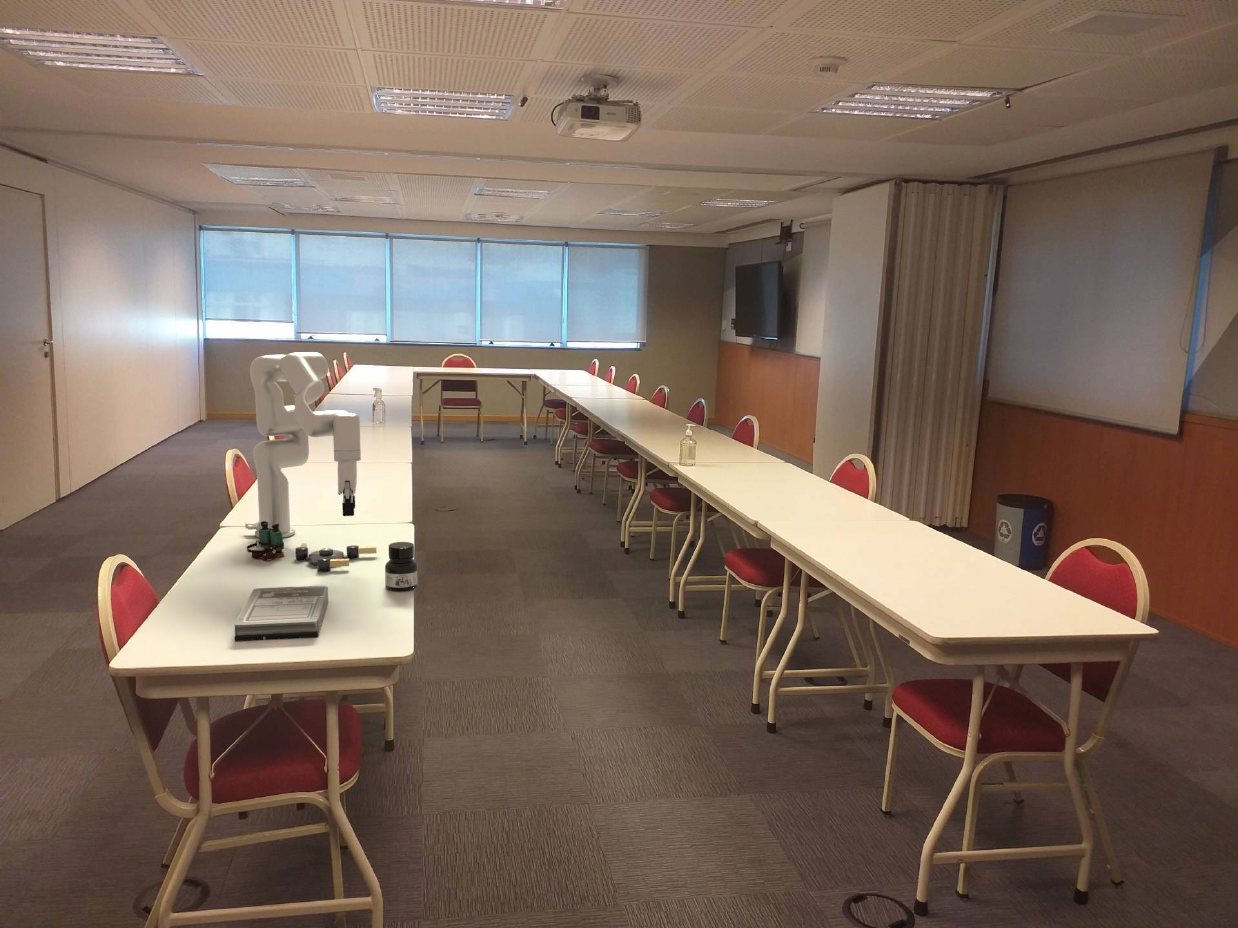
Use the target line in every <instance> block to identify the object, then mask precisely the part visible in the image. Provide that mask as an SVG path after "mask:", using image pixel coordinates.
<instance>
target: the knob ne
mask: <svg viewBox="0 0 1238 928" xmlns="http://www.w3.org/2000/svg"><path fill="white" fill-rule="evenodd" d="M369 554H370V555H371V554H372V555H373V554H377V546H359V545H356V544H355V545H346V555H347V556H348V559H349V560H356V559H359V558H360V555H369Z"/></svg>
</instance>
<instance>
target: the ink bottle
mask: <svg viewBox="0 0 1238 928" xmlns="http://www.w3.org/2000/svg"><path fill="white" fill-rule="evenodd" d="M388 559H389V560H388V561H386V563H385V565H384V575H385V576H384V578H385V581H384V583H385V588H386V589H388V591H395V592H403V591H405V592H406V591H411V590H414V589H416V588H417V587H418V586H419V564H418V562H417V561H416V560H415V545H414V543H413V542H409V541H396V542H392V543H389V544H388ZM413 587H414V589H413Z"/></svg>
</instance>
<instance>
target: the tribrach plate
mask: <svg viewBox="0 0 1238 928" xmlns="http://www.w3.org/2000/svg"><path fill="white" fill-rule="evenodd" d="M319 558H330V560H332V559H348V556H347V554H345V553H344V552H343V551H342V550H337V549H333V548H330V547H323V548H321V549H319V550H317V551H313V552H310V553H308V557H306V560H305V561H306V562H308V564H309V565H310V566H311V567H317V568H318V566H317V559H319Z"/></svg>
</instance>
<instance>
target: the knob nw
mask: <svg viewBox="0 0 1238 928" xmlns="http://www.w3.org/2000/svg"><path fill="white" fill-rule="evenodd" d="M307 544H308V543H306V542H305V543H301V544H300V546H298V547H296V548H295V560H296V561H299V562H301V561H302V562H304V561H306V557H308V556H309V548H308V546H307Z"/></svg>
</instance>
